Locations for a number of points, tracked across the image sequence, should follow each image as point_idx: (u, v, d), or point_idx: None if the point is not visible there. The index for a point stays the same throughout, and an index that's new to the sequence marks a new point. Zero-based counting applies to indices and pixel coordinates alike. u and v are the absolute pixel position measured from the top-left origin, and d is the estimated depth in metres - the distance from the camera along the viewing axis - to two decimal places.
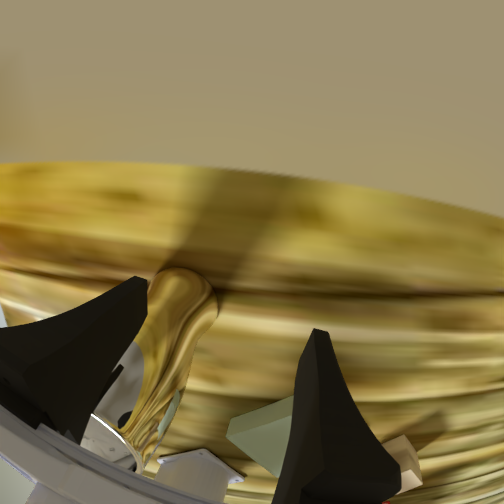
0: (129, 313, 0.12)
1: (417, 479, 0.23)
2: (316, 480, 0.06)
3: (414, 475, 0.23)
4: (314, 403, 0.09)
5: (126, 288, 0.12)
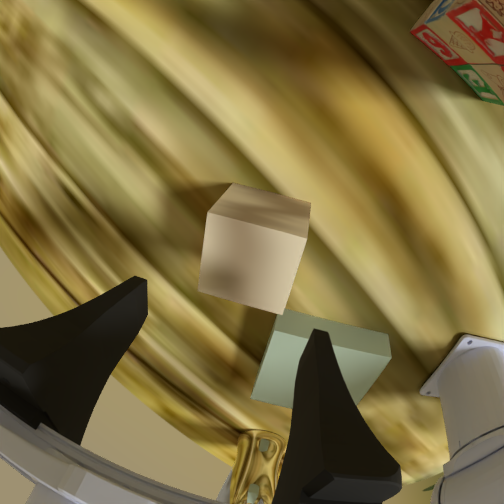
0: (129, 313, 0.12)
1: (204, 246, 0.17)
2: (316, 480, 0.06)
3: (202, 265, 0.17)
4: (314, 403, 0.09)
5: (126, 288, 0.12)
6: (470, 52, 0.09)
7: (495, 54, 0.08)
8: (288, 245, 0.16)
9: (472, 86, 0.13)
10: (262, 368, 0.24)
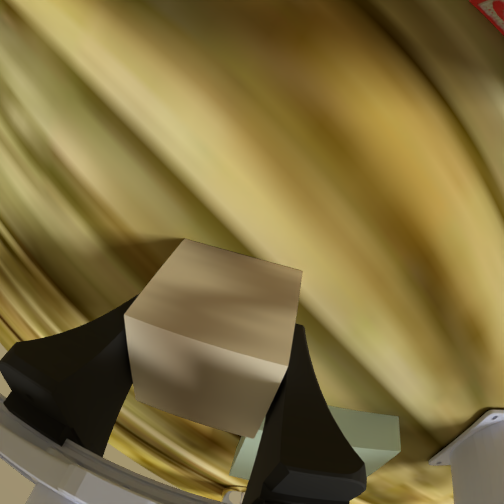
0: None
1: (130, 356, 0.10)
2: (274, 473, 0.06)
3: (134, 376, 0.11)
4: (282, 396, 0.09)
5: None
6: None
7: None
8: (256, 372, 0.09)
9: None
10: (239, 455, 0.17)
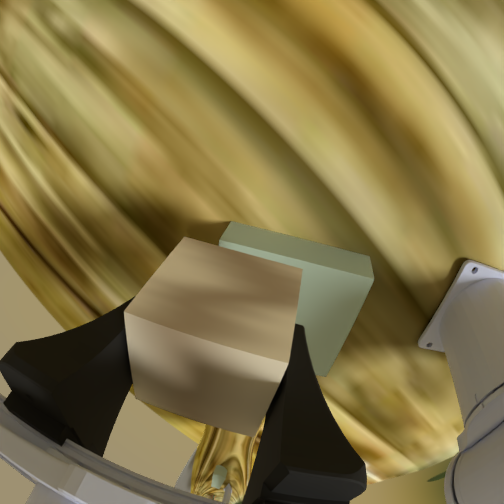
0: None
1: (130, 353, 0.10)
2: (274, 473, 0.06)
3: (134, 374, 0.11)
4: (282, 396, 0.09)
5: None
6: None
7: None
8: (257, 369, 0.09)
9: None
10: None
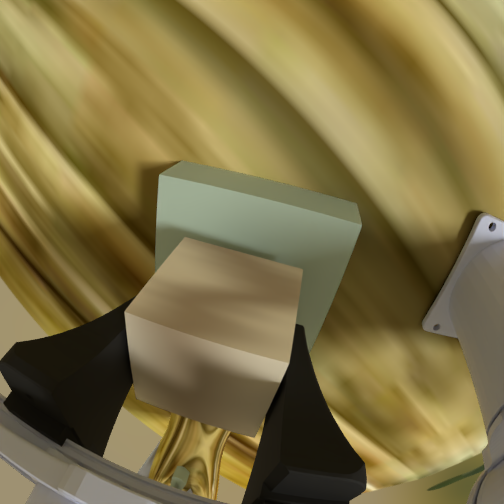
0: None
1: (131, 353, 0.10)
2: (274, 473, 0.06)
3: (134, 374, 0.11)
4: (282, 396, 0.09)
5: None
6: None
7: None
8: (257, 369, 0.09)
9: None
10: (157, 256, 0.16)
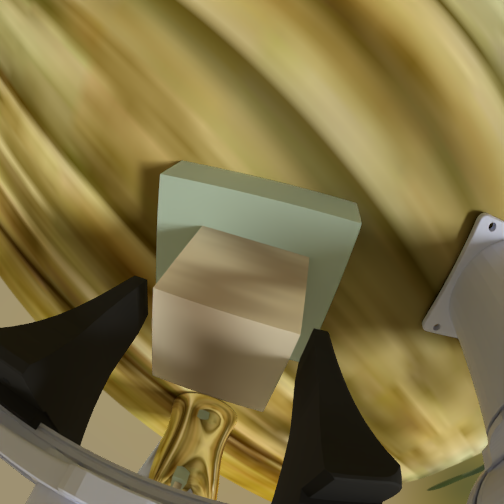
0: (129, 313, 0.12)
1: (154, 328, 0.11)
2: (315, 480, 0.06)
3: (154, 350, 0.12)
4: (314, 403, 0.09)
5: (126, 288, 0.12)
6: None
7: None
8: (272, 341, 0.10)
9: None
10: (158, 256, 0.16)
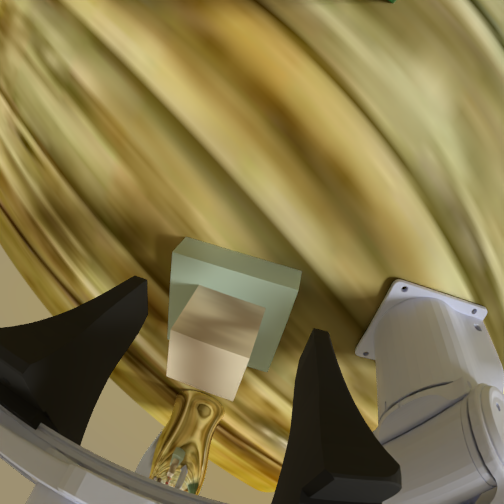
0: (129, 313, 0.12)
1: (169, 350, 0.20)
2: (316, 480, 0.06)
3: (169, 361, 0.20)
4: (314, 403, 0.09)
5: (126, 288, 0.12)
6: None
7: None
8: (234, 360, 0.19)
9: None
10: (170, 299, 0.24)
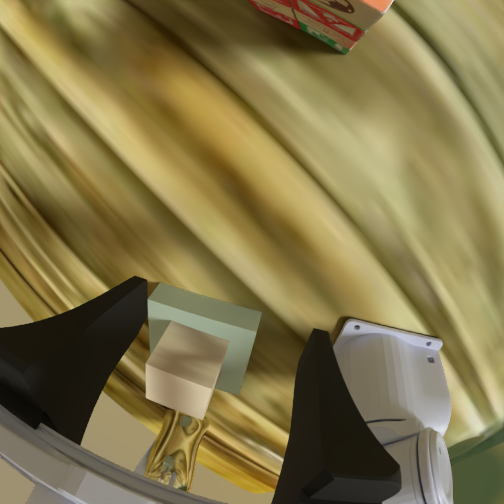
0: (129, 313, 0.12)
1: (146, 378, 0.22)
2: (316, 480, 0.06)
3: (147, 387, 0.23)
4: (314, 403, 0.09)
5: (126, 288, 0.12)
6: (278, 7, 0.11)
7: None
8: (200, 390, 0.21)
9: (327, 43, 0.15)
10: (150, 336, 0.27)
